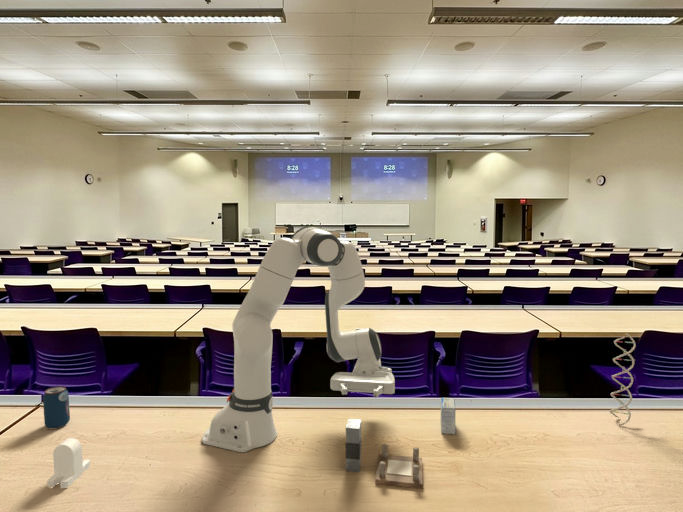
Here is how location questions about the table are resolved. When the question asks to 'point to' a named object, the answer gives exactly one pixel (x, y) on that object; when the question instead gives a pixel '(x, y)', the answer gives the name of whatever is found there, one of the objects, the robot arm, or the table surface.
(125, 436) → the table surface
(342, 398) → the table surface
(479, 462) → the table surface
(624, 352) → the dna model
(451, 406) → the medicine box
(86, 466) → the cable organizer
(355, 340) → the robot arm
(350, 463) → the grey rectangular block
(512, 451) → the table surface
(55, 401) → the soda can
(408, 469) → the peg cradle
